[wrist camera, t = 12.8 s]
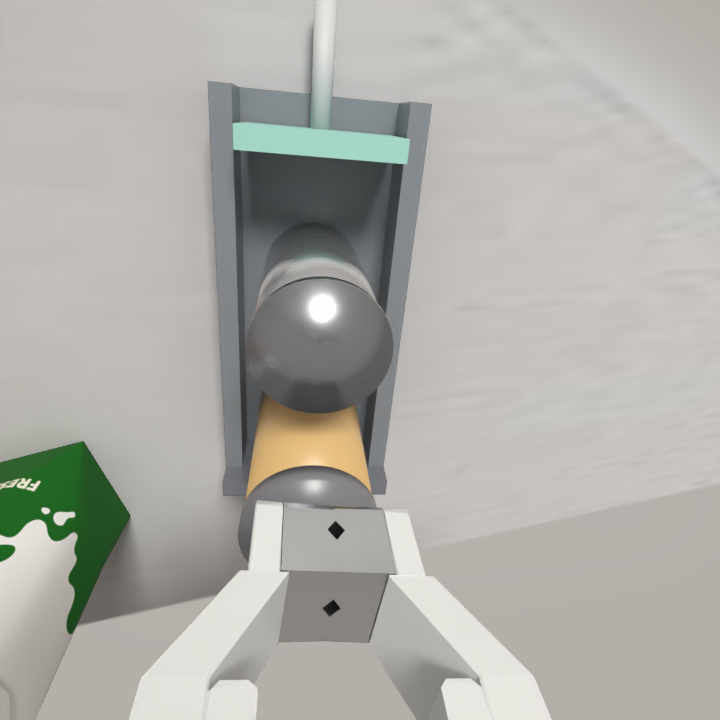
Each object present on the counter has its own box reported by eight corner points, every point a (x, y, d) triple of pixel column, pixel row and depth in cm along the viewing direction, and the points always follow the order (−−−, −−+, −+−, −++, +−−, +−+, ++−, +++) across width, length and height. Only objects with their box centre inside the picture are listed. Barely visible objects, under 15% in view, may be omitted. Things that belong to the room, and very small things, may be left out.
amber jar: (260, 352, 30) (235, 481, 19) (358, 354, 31) (386, 480, 20) (260, 433, 33) (240, 585, 22) (351, 434, 34) (373, 581, 23)
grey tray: (219, 85, 24) (201, 78, 19) (416, 105, 25) (440, 103, 21) (233, 445, 34) (223, 495, 29) (374, 446, 35) (385, 494, 30)
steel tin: (263, 217, 26) (244, 276, 17) (364, 224, 27) (402, 284, 17) (263, 313, 29) (246, 412, 19) (355, 316, 30) (384, 414, 20)
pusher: (243, -15, 22) (227, -49, 17) (404, 6, 23) (429, -21, 18) (246, 143, 24) (233, 149, 20) (388, 155, 25) (407, 164, 21)
